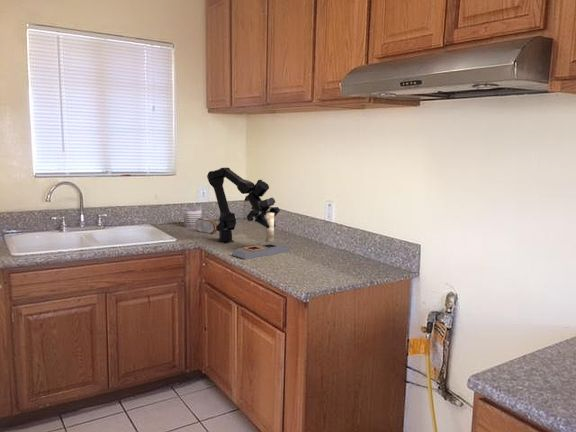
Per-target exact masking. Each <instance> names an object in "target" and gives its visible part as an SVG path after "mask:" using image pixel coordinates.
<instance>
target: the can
mask: <svg viewBox="0 0 576 432" xmlns="http://www.w3.org/2000/svg"><path fill="white" fill-rule="evenodd" d="M182 209H183V228H185V229H197V228H196V221H197V220H198V219H200V218H203V217H202V216H203V215H202V209H203V207H200V206H196V205H194V206H184V207H183V208H182Z"/></svg>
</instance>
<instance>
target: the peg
mask: <svg viewBox="0 0 576 432" xmlns="http://www.w3.org/2000/svg"><path fill="white" fill-rule="evenodd" d="M265 219H266V221H267V223H268V225H269V228H266V227H265V242H267V243H274V242H275V241H274V240H275V227H274V220H275V217H274V213H271V212H268V213H266V216H265Z"/></svg>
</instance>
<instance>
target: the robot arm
mask: <svg viewBox="0 0 576 432" xmlns="http://www.w3.org/2000/svg"><path fill="white" fill-rule="evenodd" d="M206 178H207V181H208V183H209V185H210V186H211V187H212V188H213V191H214V193H215V197H216V201H217V205H218V209H219V213H220V214H219V219H218V220H219V223H218V224H217V226H216V229H217V231H216V232H218V233H219V234H218V235H219V240H217V242H218V243H223V244H227V243H233V242H234V239H233V233H232V232H233V231H234V230H235V227H236V224H237V218H236V214H235V212H232V211H230V207H229V204H228V200H227V196H226V193H225V189H224V182H225V178H226V179H227V180H228V181H229V182H231V183H232V184H234V185H235V186H236V188H237V190H238V191H239V192H240V193H241V194H242V195H245V196H244V197H245V198H244V202H249V204H250V205H251V208H250V209H251V210H250V211H249V213H248V214H247V215H246V219H247V221H248V222H253V221H254V222H256V223H257V224H259V225H261V226H263V227H265V229H266V228H269V225H268V223H267V221H266V213H268V212H271V213H274V218H275V217H276V216H277V215H278V214H279V213H280V211H281V209H280V208H279V207H277V206H275V204H276V199H275V198H274V197H270V198H266V199H264V200H262V197H264V195H265V194H266V193H267V192H268V190H269V189H270V186H269V184H268V183H267V182H265V181H264V180H263V179H258V180H257V181H256V183H254V182H252V181H250V180H249V179H248V180H247V179H244V178H242V177H240V175H238V174H237V173H236V172H235V171H233V170H231V168H229V167H220V168H219V169H216V170H210V171H208V174H207V175H206ZM246 194H247V195H246ZM272 206H275V207H272ZM275 221H276V220H275V219H274V228H276V222H275Z"/></svg>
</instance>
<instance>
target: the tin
mask: <svg viewBox="0 0 576 432" xmlns="http://www.w3.org/2000/svg"><path fill="white" fill-rule="evenodd" d="M217 225H218V224H217V222H216V221H215V220H214V219H213V218H212V219H211V218H205V217H202V218H200V219H198V220H197V221H196V228H195V229H196V230H197V231H198V232H199V233H203V234H210V235H211V234H216V233H217V232H218V231H217V229H216V226H217Z"/></svg>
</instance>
